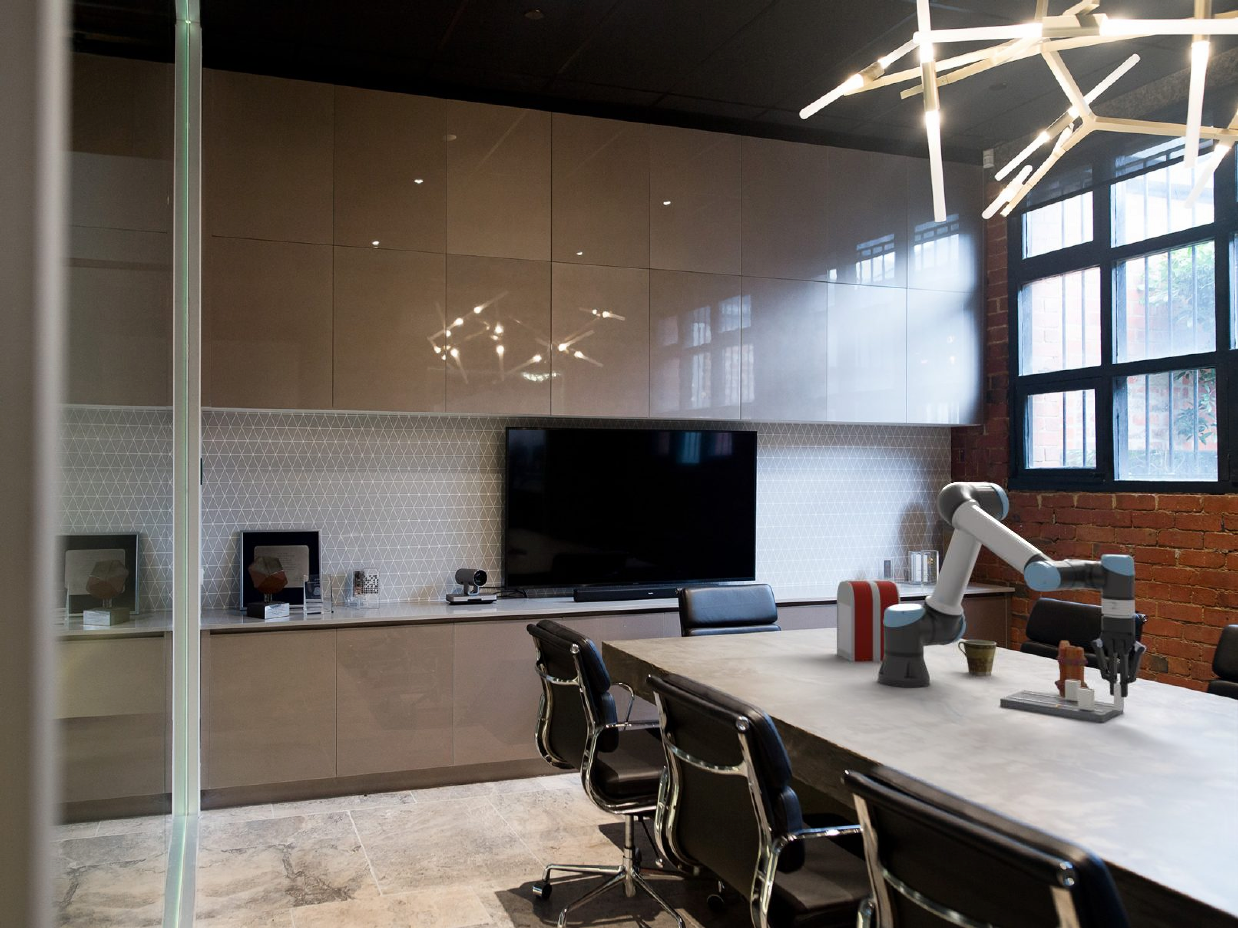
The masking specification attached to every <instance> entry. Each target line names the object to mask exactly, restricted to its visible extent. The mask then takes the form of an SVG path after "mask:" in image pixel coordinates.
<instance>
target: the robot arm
mask: <svg viewBox="0 0 1238 928" xmlns="http://www.w3.org/2000/svg"><path fill="white" fill-rule="evenodd" d="M1009 502H1010V501H1009V499H1008V497H1007V493H1006V492H1005V490H1004V489H1003V488H1002V487H1001V486H1000V485H999V484H996V483H993V482H987V481H982V482H972V481H971V482H963V481H961V482H960V481H959V482H958V481H957V482H953V483H949V484H947V485H946V486H945V487H943V488H942V490H940V492H939V494H938V496H937V499H936V508H937V511H938V513H939V515H940V517H941V518H942V519H944V521H945V522H947V524H948V525H950V526H951V527H953V528H954V531H953V533H952V536H951V540H950V542H949V545H948V548H947V551H946V554H945V556H944V560H943V563H942V566H941V569H940V572H939V575H938V577H937V581H936V584H935V586H934V588H933V592H932V594H930V595H927V596H926V597H925V599H924V603H923V605H921V604H918V603H900V604H898V605H893V606H890V607H888V608H887V609H886V610H885V612H884V620H883V623H884V658H883V661H881V664H880V667H879V671H878V673H877V681H878V682H879V683H880V684H883V685H888V686H893V687H900V688H901V687H903V688H921V687H922V688H923V687H927V686H930V684H931V681H930V680H931V677H930V674H929V669H928V667H927V664H926V661H925V657H924V655H925V653H924V651H925V649H924V648H925V647H930V646H947V645H950V644H954V643H956V642H958V641H959V640H961V639H962V637H963V635H964V634H965V631H966V627H967V622H966V621H965V620H966V616H965V614H964V611H965V610H964V608H963V606H962V601H963V598H964V595H965V593H966V590H967V587H968V584H969V581H970V578H971V575H972V573H973V569H974V567H975V564H976V561H977V559H978V556H979V553H980V551H981V547H982V545H983V546H984V547H986V548H987V549H988V550H990V551H991V552H992V553H994V554H995V555H997V556H998V557H1000V559H1002V560H1003V561H1005V562H1006V563H1007V564H1009V565H1010V566H1012V567H1013V568H1014V569H1015V570H1017V571H1018V572H1020V573H1021V574H1022V575H1023V577H1024V578H1023V579H1024V581H1025V582H1026V585H1027V587H1029V588H1030V589H1031V590H1034V591H1036V592H1047V593H1048V592H1054V591H1069V590H1070V591H1071V590H1091V591H1101V592H1100V593H1101V598H1100V599H1101V614H1103V615H1102V616H1101V633H1100V635H1099V638H1097V639H1094V640H1092V641H1090V643H1089V644H1090V645H1091V647H1092V648H1093V650H1094V653H1095V657H1096V661H1097V666H1098V668H1099V669H1098V670H1099V673H1100V677H1101V678H1102V680H1103V681H1104V680H1105V681H1107V682H1108V683H1109V695H1110V696H1113V704H1114V710H1119V711H1121V710H1123V711H1124V709H1125V698H1127V697H1128V696H1129V695H1128V694H1129V684H1132V683H1135V682H1137V678H1138V675H1139V670H1140V667H1141V664H1142V663H1141V662H1142V659H1143V655H1144V654H1145V652H1146V651H1147V649H1148V646H1147V645H1144V644H1142V643H1140V642H1139V641H1138V637H1137V635H1136V619H1135V617H1134V616H1135V615H1136V606H1135V605H1136V604H1135V603H1136V600H1135V583H1136V582H1135V577H1136V571H1135V560H1134V558H1133V556H1132V555H1129V554H1102V555H1101V557H1100V560H1099V561H1096V560H1087V559H1086V560H1085V559H1080V558H1075V559H1074V558H1069V559H1063V560H1054V559H1052V558H1051V557H1049V556H1048V555H1046V554H1044V553H1043V552H1042V551H1041V550H1039V549H1038V548H1036V547H1035V546H1033V545H1032V544H1031V543H1029V542H1028V541H1026V540H1025V539H1024V538H1022V537H1021V536H1019V535H1018V534H1017V533H1015V532H1014V531H1012V530H1011V529H1009V528H1008V527H1007V526H1005V524H1002V523H1001V521H1002V520H1004V519H1005V518H1006V517H1007V515H1008V512H1009V510H1010V503H1009ZM1103 645H1104V647H1105V648H1106V649H1107V650H1108V653H1107V654H1108V665H1107V659H1106V656H1105V652H1104V649H1103ZM1133 648H1134V651H1135V653H1134V655H1133V658H1132V662H1131V667H1130V670H1129V655H1130V653H1129V652H1131V650H1132V649H1133ZM1118 657H1119V679H1118ZM1118 681H1119V682H1118Z"/></svg>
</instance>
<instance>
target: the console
mask: <svg viewBox="0 0 1238 928" xmlns="http://www.w3.org/2000/svg"><path fill="white" fill-rule="evenodd" d="M999 701H1000V702H999V704H1000V707H1003V708H1010V709H1014V710H1015V709H1016V710H1020V711H1027V712H1033V713H1040V714H1046V715H1051V716H1058V717H1064V718H1069V719H1070V718H1071V719H1075V720H1081V721H1089V722H1093V723H1099V724H1104V723H1105V722H1108V721H1109V720H1112V719H1114V718H1116V717H1119V716H1120V715H1122V714H1124V709H1123V710H1121V711H1119V710H1114V703H1112V702H1111V703H1110V702H1104V701H1097V700H1094V709H1092V710H1085V709H1079V708H1078V701H1074V700H1067V699H1065V696H1060V694H1059V695H1058V694H1057V695H1056V694H1051V693H1044V692H1037V691H1032V690H1025V689H1024V690H1021V691H1018V692H1016V693H1012V694H1009V695H1007V696H1003V697H1002V698H999Z"/></svg>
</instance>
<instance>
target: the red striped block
mask: <svg viewBox="0 0 1238 928" xmlns="http://www.w3.org/2000/svg"><path fill="white" fill-rule="evenodd" d="M898 604H901V595H900V590H899V587H898V585H897V584H896V582H893V581H892V580H889V579H862V580H861V579H855V580H854V579H853V580H852V579H846V580H841V581H840V582H839V584H838V587H837V593H836V654H837V655H838V656H840V657H842V658H845V659H846V660H848V661H849V662H855V663H857V662H859V663H860V662H863V663H864V662H875V663H876V662H882V661H883V658H884V623H883V620H884V612H885V610H886V609H887V608H888V607H890V606H893V605H898Z"/></svg>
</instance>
